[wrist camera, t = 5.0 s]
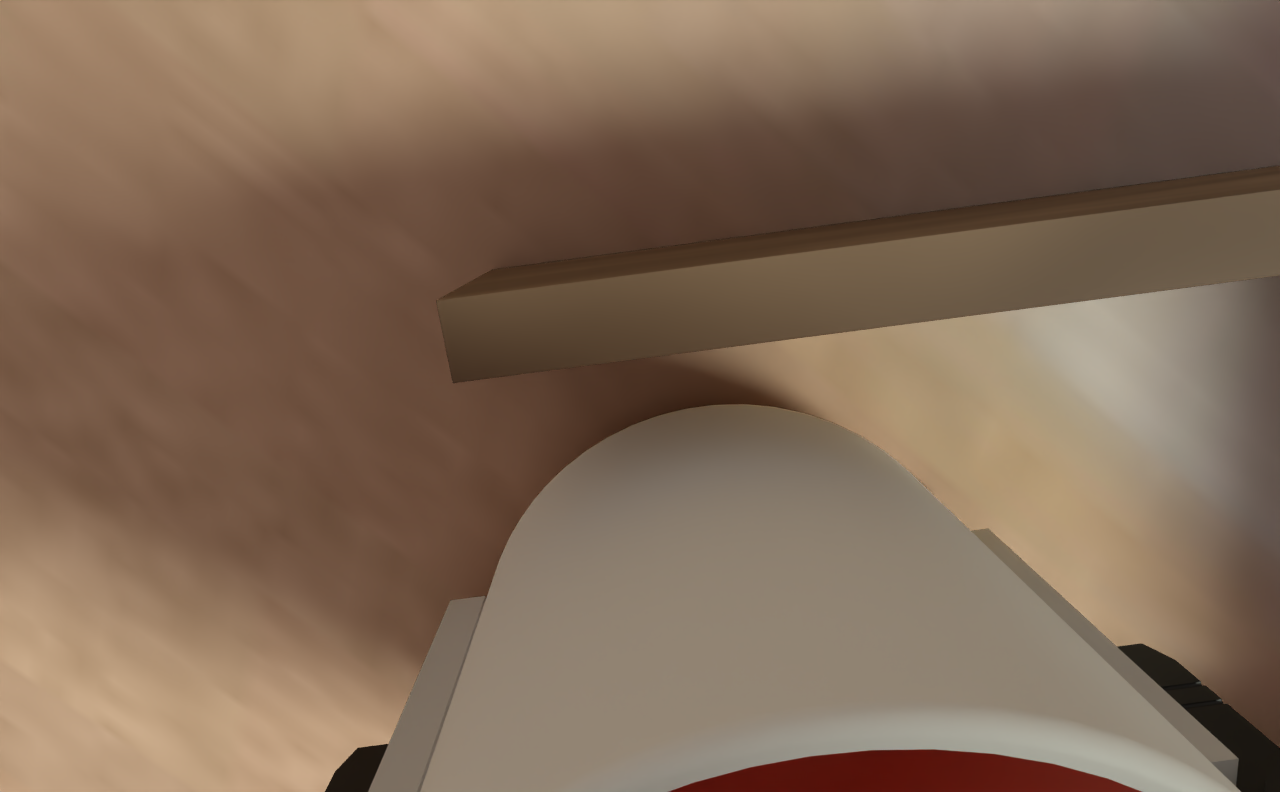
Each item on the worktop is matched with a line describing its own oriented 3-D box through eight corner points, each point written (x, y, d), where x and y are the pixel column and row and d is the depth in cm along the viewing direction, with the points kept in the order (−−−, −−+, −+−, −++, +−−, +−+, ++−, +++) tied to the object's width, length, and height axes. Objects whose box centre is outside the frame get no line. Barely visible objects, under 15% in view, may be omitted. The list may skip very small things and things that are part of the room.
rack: (492, 269, 15) (343, 351, 7) (1678, 112, 14) (2923, 13, 7) (604, 892, 19) (591, 1377, 11) (1521, 782, 18) (2165, 1202, 11)
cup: (406, 559, 16) (81, 1099, 6) (785, 291, 15) (1090, 472, 5) (667, 848, 18) (716, 1567, 9) (1017, 639, 17) (1536, 1222, 7)
